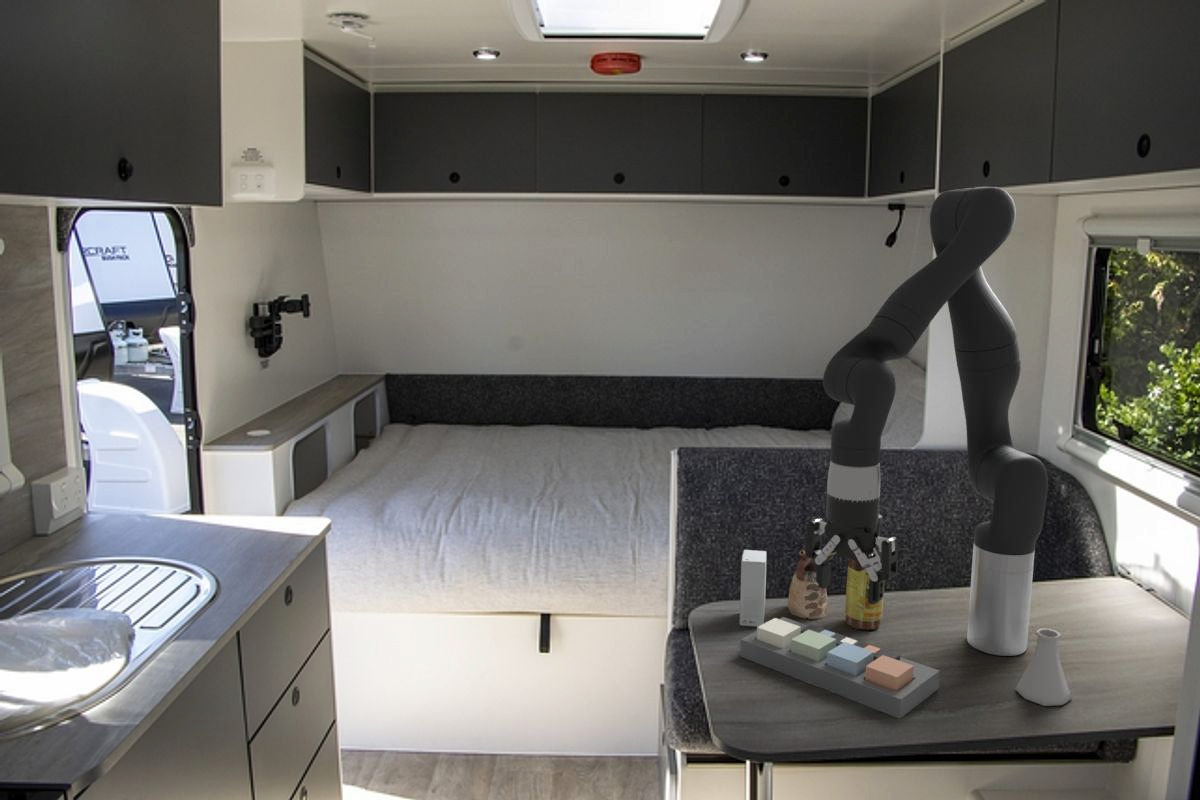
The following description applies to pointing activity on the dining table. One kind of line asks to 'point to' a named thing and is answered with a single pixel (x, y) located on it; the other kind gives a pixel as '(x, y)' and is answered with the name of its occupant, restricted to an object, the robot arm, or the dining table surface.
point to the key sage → (812, 645)
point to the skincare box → (753, 588)
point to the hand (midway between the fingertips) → (848, 594)
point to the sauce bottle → (862, 595)
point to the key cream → (778, 633)
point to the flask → (1045, 673)
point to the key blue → (849, 658)
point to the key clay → (889, 673)
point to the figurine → (807, 591)
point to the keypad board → (841, 681)
